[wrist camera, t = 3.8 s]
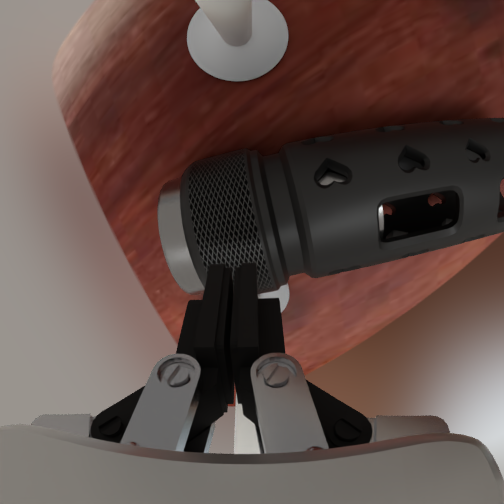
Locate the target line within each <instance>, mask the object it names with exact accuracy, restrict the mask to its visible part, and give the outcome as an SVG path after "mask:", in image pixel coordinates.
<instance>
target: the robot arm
mask: <svg viewBox="0 0 504 504" xmlns="http://www.w3.org/2000/svg"><path fill="white" fill-rule="evenodd" d="M234 382H235V387H236V394H237V400H238V404H242V409H243V415H244V416H245V417H246V418H248V419H249V420H250V421H251V422H253V423H254V424H255V431H256V436H257V441H258V446H259V451H260V454H215V453H214V454H213V453H208V452H209V448H210V445H211V441H212V437H213V433H214V429H215V421H216V420H217V419H219V418H220V417H221V416H223V414H224V412H227V408H228V404H233V402H234ZM0 504H504V480H503V477H502V475H501V472H500V470H499V467H498V465H497V463H496V461H495V460H494V458H493V456H492V454H491V453H490V451H489V450H488V448H487V447H486V446H485V445H484V444H483V443H482V442H481V441H479V440H477V439H475V438H473V437H469V436H466V435H461V434H454V433H450V431H449V428H448V425H447V424H446V423H445V422H444V420H443V419H441V418H439V417H436V416H376V418H366V417H365V416H364V415H363V414H361V413H360V412H358V411H356V410H355V409H353V408H351V407H349V406H348V405H346V404H344V403H343V402H341V401H339V400H337V399H336V398H335V397H333V396H331V395H330V394H328V393H326V392H325V391H323V390H321V389H320V388H318V387H317V386H315V385H313V384H312V383H310V382H308V381H307V380H306V379H305V376H304V373H303V370H302V367H301V365H300V364H299V362H298V361H297V360H296V359H295V358H294V357H292V356H290V355H287V354H285V346H284V336H283V326H282V317H281V308H280V300H279V298H259V299H258V286H257V263H241V267H236V268H235V280H234V291H233V280H232V270H231V267H229V268H226V265H225V264H210V265H209V269H208V274H207V279H206V284H205V289H204V295H203V300H189V302H188V305H187V309H186V313H185V317H184V321H183V325H182V330H181V334H180V338H179V343H178V347H177V351H176V354H172V355H168V356H166V357H164V358H162V359H161V360H160V361H159V362H157V364H156V365H155V367H154V368H153V370H152V372H151V374H150V377H149V379H148V381H147V383H146V385H145V386H144V387H142V388H141V389H139V390H137V391H135V392H134V393H132V394H131V395H129V396H127V397H126V398H124V399H122V400H121V401H119V402H117V403H116V404H114V405H112V406H111V407H109V408H107V409H106V410H104V411H102V412H101V413H100V414H98V415H97V416H96V417H92V416H91V415H90V414H74V415H41V416H39V417H37V418H36V419H35V420H34V421H33V422H32V424H31V425H24V424H21V425H8V426H2V427H0Z"/></svg>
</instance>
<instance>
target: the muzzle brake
mask: <svg viewBox="0 0 504 504" xmlns="http://www.w3.org/2000/svg"><path fill="white" fill-rule="evenodd" d="M502 179H504V118H481V119H461V120H446V121H433V122H422V123H412V124H403V125H395V126H387V127H379V128H372V129H365V130H358V131H351V132H345V133H339V134H333V135H327V136H322V137H317V138H311V139H306V140H301V141H296V142H291V143H286V144H285V145H283V146H282V148H281V150H280V151H279V153H277V154H272V155H267V156H262V155H261V154H260V153H259V152H258V151H257V150H253V151H250V150H248V149H247V148H244V149H240V150H236V151H232V152H228V153H224V154H221V155H217V156H213V157H209V158H206V159H202V160H199V161H195V162H194V163H192V164H191V165H190V166H189V167H188V168H187V169H186V170H185V171H184V173H183V175H182V177H180V178H177V179H173V180H170V181H168V182H167V183H165V184H164V185H163V187H162V189H161V191H160V195H159V199H158V226H159V234H160V239H161V244H162V248H163V252H164V255H165V259H166V261H167V264H168V266H169V269H170V271H171V273H172V275H173V277H174V279H175V281H176V282H177V283H178V285H179V286H180V287H181V288H182V289H183V290H184V291H185V292H186V293H188V294H190V295H198V294H204V289H205V284H206V279H207V274H208V269H209V265H210V264H225V265H226V268H229V267H231V270H232V280H233V291H234V280H235V268H236V267H241V263H257V286H258V294H262V293H268V292H273V291H277V290H279V289H280V287H281V286H283V285H287V283H288V279H289V276H291V275H296V274H300V273H306V274H307V275H309V276H310V277H312V278H319V277H324V276H328V275H333V274H337V273H340V272H345V271H351V270H355V269H359V268H364V267H368V266H372V265H377V264H381V263H385V262H389V261H394V260H398V259H402V258H406V257H408V256H414V255H418V254H422V253H426V252H430V251H434V250H438V249H442V248H446V247H450V246H453V245H457V244H461V243H464V242H467V241H472V240H476V239H479V238H483V237H487V236H490V235H494V234H497V233H501V232H504V198H503V196H502V194H501V192H500V183H501V180H502ZM431 193H433V194H435V195H436V196H438V197H439V198H440V199H441V200H442V204H439V203H437V204H435V205H434V206H431V205H429V203H428V201H427V200H428V197H429V196H430V194H431ZM382 204H385V205H387V206H389V207H390V208H391V209H392V214H391V215H388V214H385V215H383V208H382Z"/></svg>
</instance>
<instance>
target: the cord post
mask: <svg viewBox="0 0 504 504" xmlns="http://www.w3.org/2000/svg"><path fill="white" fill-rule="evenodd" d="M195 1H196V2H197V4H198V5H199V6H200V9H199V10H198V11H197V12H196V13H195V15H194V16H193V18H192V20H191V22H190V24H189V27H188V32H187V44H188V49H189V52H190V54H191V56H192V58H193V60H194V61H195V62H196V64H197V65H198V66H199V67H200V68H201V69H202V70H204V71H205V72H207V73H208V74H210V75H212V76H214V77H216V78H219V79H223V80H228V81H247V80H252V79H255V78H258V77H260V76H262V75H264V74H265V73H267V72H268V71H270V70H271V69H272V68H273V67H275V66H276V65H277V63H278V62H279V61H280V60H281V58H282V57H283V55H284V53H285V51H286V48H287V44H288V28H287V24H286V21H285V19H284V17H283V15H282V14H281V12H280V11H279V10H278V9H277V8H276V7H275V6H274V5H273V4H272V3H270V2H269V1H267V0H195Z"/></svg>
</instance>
